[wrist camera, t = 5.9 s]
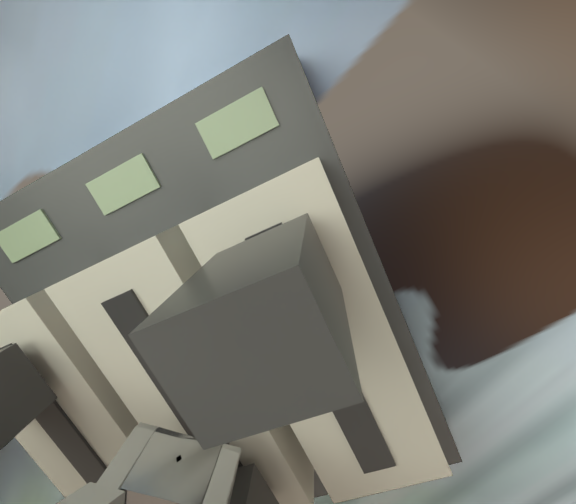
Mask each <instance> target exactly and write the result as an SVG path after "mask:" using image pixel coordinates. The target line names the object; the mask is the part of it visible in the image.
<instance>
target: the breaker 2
mask: <svg viewBox="0 0 576 504" xmlns="http://www.w3.org/2000/svg"><path fill="white" fill-rule="evenodd" d="M128 336H129V338H130V339H131V341H132V342H133V344H134V345H135V347H136V348H137V350H138V351H139V353H140V354H141V356H142V357H143V359H144V361H145V362H146V364H147V365H148V367H149V368H150V370H151V371H152V373H153V374H154V376H155V377H156V379H157V380H158V382H159V383H160V385H161V386H162V388H163V389H164V391H165V392H166V394H167V396H168V397H169V399H170V400H171V402H172V403H173V405H174V406H175V408H176V409H177V411H178V412H179V414H180V415H181V417H182V418H183V420H184V421H185V423H186V424H187V426H188V427H189V429H190V431H191V432H192V434H193V435H194V437H195V438H196V440H197V441H198V443H199V444H200V446H201V447H202V449H203V450H206V449H209V448H212V447H216V446H219V445H222V444H226V443H229V442H232V441H236V440H239V439H242V438H246V437H249V436H252V435H256V434H259V433H262V432H266V431H269V430H272V429H276V428H279V427H282V426H286V425H289V424H292V423H296V422H299V421H302V420H306V419H309V418H312V417H316V416H319V415H322V414H326V413H329V412H332V411H336V410H339V409H342V408H346V407H349V406H352V405H356V404H359V403H362V402H364V400H363V395H362V390H361V385H360V379H359V374H358V369H357V364H356V359H355V354H354V349H353V344H352V338H351V333H350V328H349V323H348V318H347V313H346V308H345V303H344V298H343V292H342V288H341V286H340V284H339V281H338V279H337V277H336V275H335V273H334V270H333V268H332V266H331V264H330V261H329V259H328V257H327V255H326V252H325V250H324V248H323V246H322V244H321V241H320V239H319V237H318V235H317V232H316V230H315V228H314V226H313V224H312V221H311V219H310V217H309V215H308V213H306V214H304V215H301V216H299V217H297V218H295V219H293V220H290V221H288V222H286V223H284V224H281V225H279V226H277V227H275V228H272V229H270V230H268V231H266V232H263V233H261V234H259V235H257V236H254V237H252V238H250V239H248V240H245V241H243V242H241V243H239V244H236V245H234V246H232V247H230V248H227V249H225V250H223V251H221V252H219V253H216V254H215V255H214V256H213V257H212V258H211V259H210V260H209V261H208V262H206V263H205V264H204V265H203V266H202V267H201V268H200V269H199V270H198V271H197V272H196V273H195V274H193V275H192V276H191V277H190V278H189V279H188V280H187V281H186V282H185V283H184V284H183V285H182V286H180V287H179V288H178V289H177V290H176V291H175V292H174V293H173V294H172V295H171V296H170V297H169V298H167V299H166V300H165V301H164V302H163V303H162V304H161V305H160V306H159V307H158V308H157V309H156V310H154V311H153V312H152V313H151V314H150V315H149V316H148V317H147V318H146V319H145V320H144V321H143V322H141V323H140V324H139V325H138V326H137V327H136V328H135V329H134V330H133V331H132V332H131V333H130V334H128Z"/></svg>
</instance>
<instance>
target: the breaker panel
mask: <svg viewBox="0 0 576 504" xmlns="http://www.w3.org/2000/svg"><path fill="white" fill-rule="evenodd" d="M306 213H308V215H309V217H310V219H311V221H312V224H313V226H314V228H315V230H316V232H317V235H318V237H319V239H320V241H321V244H322V246H323V248H324V250H325V252H326V255H327V257H328V259H329V261H330V264H331V266H332V268H333V270H334V273H335V275H336V277H337V279H338V281H339V284H340V286H341V288H342V292H343V298H344V303H345V308H346V313H347V318H348V323H349V328H350V333H351V338H352V344H353V349H354V354H355V359H356V364H357V369H358V374H359V379H360V385H361V390H362V395H363V400H364V402H362V403H359V404H356V405H352V406H349V407H346V408H342V409H339V410H336V411H332V412H329V413H326V414H322V415H319V416H316V417H312V418H309V419H306V420H302V421H299V422H296V423H292V424H289V425H286V426H282V427H279V428H276V429H272V430H269V431H266V432H262V433H259V434H256V435H252V436H249V437H246V438H242V439H239V440H236V441H232V442H229V443H226V444H228V445H232V446H236V447H240V448H242V450H241V455H240V460H239V464H238V467H242V466H246V465H249V464H253V463H255V465H256V466H257V468H258V470H259V471H260V473H261V475H262V476H263V478H264V479H265V481H266V483H267V484H268V486H269V488H270V489H271V491H272V493H273V494H274V496H275V497H276V499H277V501H278V502H279V504H314V498H315V497H319V496H323V495H328V494H329V496H330V498H331V500H332V501H333V503H334V504H335V503H339V502H343V501H347V500H352V499H356V498H360V497H364V496H369V495H373V494H377V493H381V492H385V491H390V490H394V489H398V488H402V487H407V486H411V485H415V484H419V483H424V482H428V481H432V480H436V479H441V478H445V477H449V476H453V475H452V472H451V470H450V468H449V465H451V464H455V463H459V462H462V459H461V457H460V455H459V452H458V450H457V447H456V445H455V442H454V440H453V437H452V435H451V432H450V430H449V427H448V425H447V422H446V420H445V418H444V415H443V413H442V410H441V408H440V405H439V403H438V400H437V398H436V395H435V393H434V390H433V388H432V386H431V383H430V381H429V378H428V376H427V373H426V371H425V368H424V366H423V363H422V361H421V358H420V356H419V354H418V351H417V349H416V346H415V344H414V341H413V339H412V336H411V334H410V331H409V329H408V326H407V324H406V322H405V319H404V317H403V314H402V312H401V309H400V307H399V304H398V302H397V299H396V297H395V294H394V292H393V290H392V287H391V285H390V282H389V280H388V277H387V275H386V273H385V270H384V267H383V265H382V262H381V260H380V258H379V255H378V253H377V250H376V248H375V245H374V243H373V241H372V238H371V235H370V233H369V230H368V228H367V226H366V223H365V221H364V218H363V216H362V213H361V211H360V208H359V206H358V203H357V201H356V198H355V196H354V194H353V191H352V189H351V186H350V184H349V181H348V179H347V176H346V174H345V171H344V169H343V166H342V164H341V162H340V159H339V157H338V154H337V152H336V149H335V147H334V144H333V142H332V140H331V137H330V134H329V132H328V129H327V127H326V125H325V122H324V120H323V117H322V115H321V112H320V110H319V107H318V105H317V102H316V100H315V97H314V95H313V93H312V90H311V88H310V85H309V83H308V80H307V78H306V75H305V73H304V70H303V68H302V65H301V63H300V61H299V58H298V56H297V53H296V51H295V48H294V46H293V43H292V41H291V38H290V36H289V34H288V35H286V36H284V37H283V38H281V39H279V40H278V41H276V42H274V43H272V44H271V45H269V46H267V47H265V48H264V49H262V50H260V51H259V52H257V53H255V54H253V55H252V56H250V57H248V58H246V59H245V60H243V61H241V62H240V63H238V64H236V65H234V66H233V67H231V68H229V69H228V70H226V71H224V72H222V73H221V74H219V75H217V76H215V77H214V78H212V79H210V80H209V81H207V82H205V83H203V84H202V85H200V86H198V87H197V88H195V89H193V90H191V91H190V92H188V93H186V94H184V95H183V96H181V97H179V98H178V99H176V100H174V101H172V102H171V103H169V104H167V105H165V106H164V107H162V108H160V109H159V110H157V111H155V112H153V113H152V114H150V115H148V116H147V117H145V118H143V119H141V120H140V121H138V122H136V123H134V124H133V125H131V126H129V127H128V128H126V129H124V130H122V131H121V132H119V133H117V134H115V135H114V136H112V137H110V138H109V139H107V140H105V141H103V142H102V143H100V144H98V145H97V146H95V147H93V148H91V149H90V150H88V151H86V152H84V153H83V154H81V155H79V156H78V157H76V158H74V159H72V160H71V161H69V162H67V163H66V164H64V165H62V166H60V167H59V168H57V169H55V170H53V171H52V172H50V173H48V174H47V175H45V176H43V177H41V178H40V179H38V180H36V181H35V182H33V183H31V184H29V185H28V186H26V187H24V188H22V189H21V190H19V191H17V192H16V193H14V194H12V195H10V196H9V197H7V198H5V199H3V200H2V201H0V288H1V289H2V290H3V292H4V293H5V294H6V296H7V297H8V298H9V300H10V301H11V302H12V305H10V306H8V307H6V308H4V309H2V310H0V350H1V349H3V348H5V347H8V346H10V345H12V344H14V343H17V344H18V346H19V347H20V348H21V350H22V351H23V352H24V354H25V355H26V356H27V358H28V359H29V360H30V362H31V363H32V364H33V366H34V367H35V368H36V369H37V371H38V372H39V373H40V375H41V376H42V377H43V379H44V380H45V381H46V383H47V384H48V385H49V387H50V388H51V389H52V390H53V392H54V393H55V394H56V396H57V397H58V398H57V399H56V400H55V401H53V402H52V403H51V404H50V405H49V406H48V407H47V408H46V409H45V410H44V411H43V412H41V413H40V414H39V415H38V416H37V417H36V418H35V419H34V420H33V421H32V422H30V423H29V424H28V425H27V426H26V427H25V428H24V429H23V430H22V431H21V432H20V433H18V434H17V435H16V436H15V438H16V439H17V441H18V442H19V443H20V444H21V445H22V447H23V448H24V449H25V450H26V451H27V453H28V454H29V455H30V456H31V457H32V459H33V460H34V461H35V462H36V463H37V465H38V466H39V467H40V468H41V469H42V471H43V472H44V473H45V474H46V475H47V477H48V478H49V479H50V480H51V481H52V483H53V484H54V485H55V486H56V487H57V489H58V490H59V491H60V492H61V494H62V495H63V496H64V497H65V498H66V497H67V496H69V495H70V494H72V493H74V492H75V491H77V490H78V489H80V488H81V487H83V486H85V485H86V484H88V483H89V482H93V483H97V481H98V480H99V479H100V477H101V476H102V474H103V473H104V471H105V470H106V468H107V467H108V465H109V464H110V463H111V461H112V460H113V458H114V457H115V455H116V454H117V452H118V451H119V449H120V448H121V447H122V445H123V444H124V442H125V441H126V439H127V438H128V436H129V435H130V434H131V432H132V431H133V429H134V428H135V427H136V426H137V425H138V424H139V423H140V422H142V423H146V424H149V425H153V426H157V427H161V428H164V429H168V430H171V431H175V432H178V433H182V434H185V435H192V436H194V435H193V434H192V432H191V431H190V429H189V427H188V426H187V424H186V423H185V421H184V420H183V418H182V417H181V415H180V414H179V412H178V411H177V409H176V408H175V406H174V405H173V403H172V402H171V400H170V399H169V397H168V396H167V394H166V392H165V391H164V389H163V388H162V386H161V385H160V383H159V382H158V380H157V379H156V377H155V376H154V374H153V373H152V371H151V370H150V368H149V367H148V365H147V364H146V362H145V361H144V359H143V357H142V356H141V354H140V353H139V351H138V350H137V348H136V347H135V345H134V344H133V342H132V341H131V339H130V338H129V336H128V334H130V333H131V332H132V331H133V330H134V329H135V328H136V327H137V326H138V325H139V324H140V323H141V322H143V321H144V320H145V319H146V318H147V317H148V316H149V315H150V314H151V313H152V312H153V311H154V310H156V309H157V308H158V307H159V306H160V305H161V304H162V303H163V302H164V301H165V300H166V299H167V298H169V297H170V296H171V295H172V294H173V293H174V292H175V291H176V290H177V289H178V288H179V287H180V286H182V285H183V284H184V283H185V282H186V281H187V280H188V279H189V278H190V277H191V276H192V275H193V274H195V273H196V272H197V271H198V270H199V269H200V268H201V267H202V266H203V265H204V264H205V263H206V262H208V261H209V260H210V259H211V258H212V257H213V256H214V255H215V254H216V253H219V252H221V251H223V250H225V249H227V248H230V247H232V246H234V245H236V244H239V243H241V242H243V241H245V240H248V239H250V238H252V237H254V236H257V235H259V234H261V233H263V232H266V231H268V230H270V229H272V228H275V227H277V226H279V225H281V224H284V223H286V222H288V221H290V220H293V219H295V218H297V217H299V216H301V215H304V214H306Z"/></svg>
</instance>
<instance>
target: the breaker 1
mask: <svg viewBox="0 0 576 504" xmlns="http://www.w3.org/2000/svg"><path fill="white" fill-rule="evenodd" d="M57 398H58V397H57V396H56V394H55V393H54V392H53V390H52V389H51V388H50V387H49V385H48V384H47V383H46V381H45V380H44V379H43V377H42V376H41V375H40V373H39V372H38V371H37V369H36V368H35V367H34V366H33V364H32V363H31V362H30V360H29V359H28V358H27V356H26V355H25V354H24V352H23V351H22V350H21V348H20V347H19V346H18V344H17V343H14V344H12V345H10V346H8V347H5V348H3V349H1V350H0V450H1V449H2V448H3V447H4V446H5V445H6V444H8V443H9V442H10V441H11V440H12V439H13V438H14V437H15V436H16V435H17V434H18V433H20V432H21V431H22V430H23V429H24V428H25V427H26V426H27V425H28V424H29V423H30V422H32V421H33V420H34V419H35V418H36V417H37V416H38V415H39V414H40V413H41V412H43V411H44V410H45V409H46V408H47V407H48V406H49V405H50V404H51V403H52V402H53V401H55V400H56V399H57Z"/></svg>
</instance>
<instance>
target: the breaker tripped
mask: <svg viewBox="0 0 576 504" xmlns="http://www.w3.org/2000/svg"><path fill="white" fill-rule="evenodd" d="M230 504H279V502H278V501H277V499H276V497H275V496H274V494H273V493H272V491H271V489H270V488H269V486H268V484H267V483H266V481H265V479H264V478H263V476H262V475H261V473H260V471H259V470H258V468H257V466H256V465H255V463H253V464H249V465H246V466H242V467H238V469H237V473H236V478H235V482H234V486H233V491H232V495H231V500H230Z"/></svg>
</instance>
